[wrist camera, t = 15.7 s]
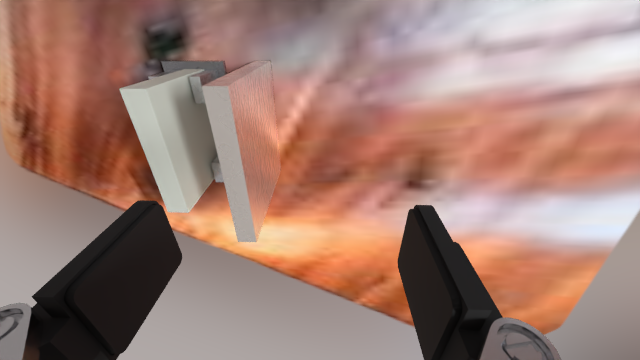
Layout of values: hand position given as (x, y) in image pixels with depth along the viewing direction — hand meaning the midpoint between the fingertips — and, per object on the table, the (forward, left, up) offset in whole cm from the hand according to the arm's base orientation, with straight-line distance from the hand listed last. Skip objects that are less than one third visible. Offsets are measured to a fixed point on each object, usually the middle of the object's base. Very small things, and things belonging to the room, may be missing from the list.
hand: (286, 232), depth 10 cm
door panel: (+5, -16, -28) cm, 32 cm away
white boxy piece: (+5, -13, -28) cm, 32 cm away
